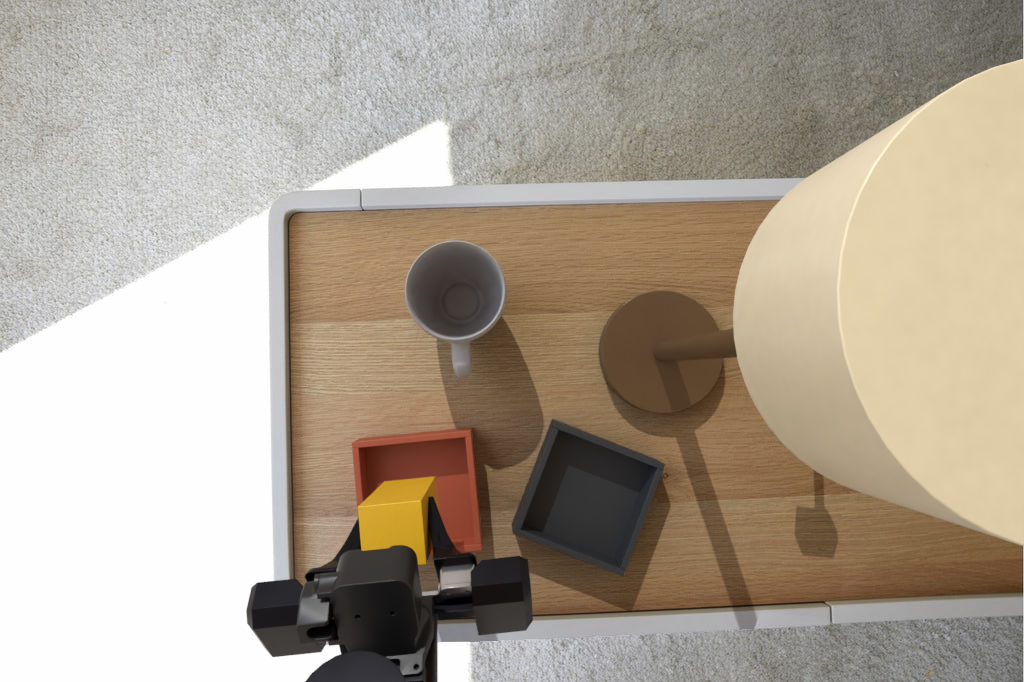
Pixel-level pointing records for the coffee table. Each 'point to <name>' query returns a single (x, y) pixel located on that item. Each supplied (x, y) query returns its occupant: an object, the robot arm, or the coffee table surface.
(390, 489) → the yellow box
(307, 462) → the coffee table surface
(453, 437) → the bin left
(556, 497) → the bin right
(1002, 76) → the tall lamp
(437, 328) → the mug
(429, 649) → the robot arm
